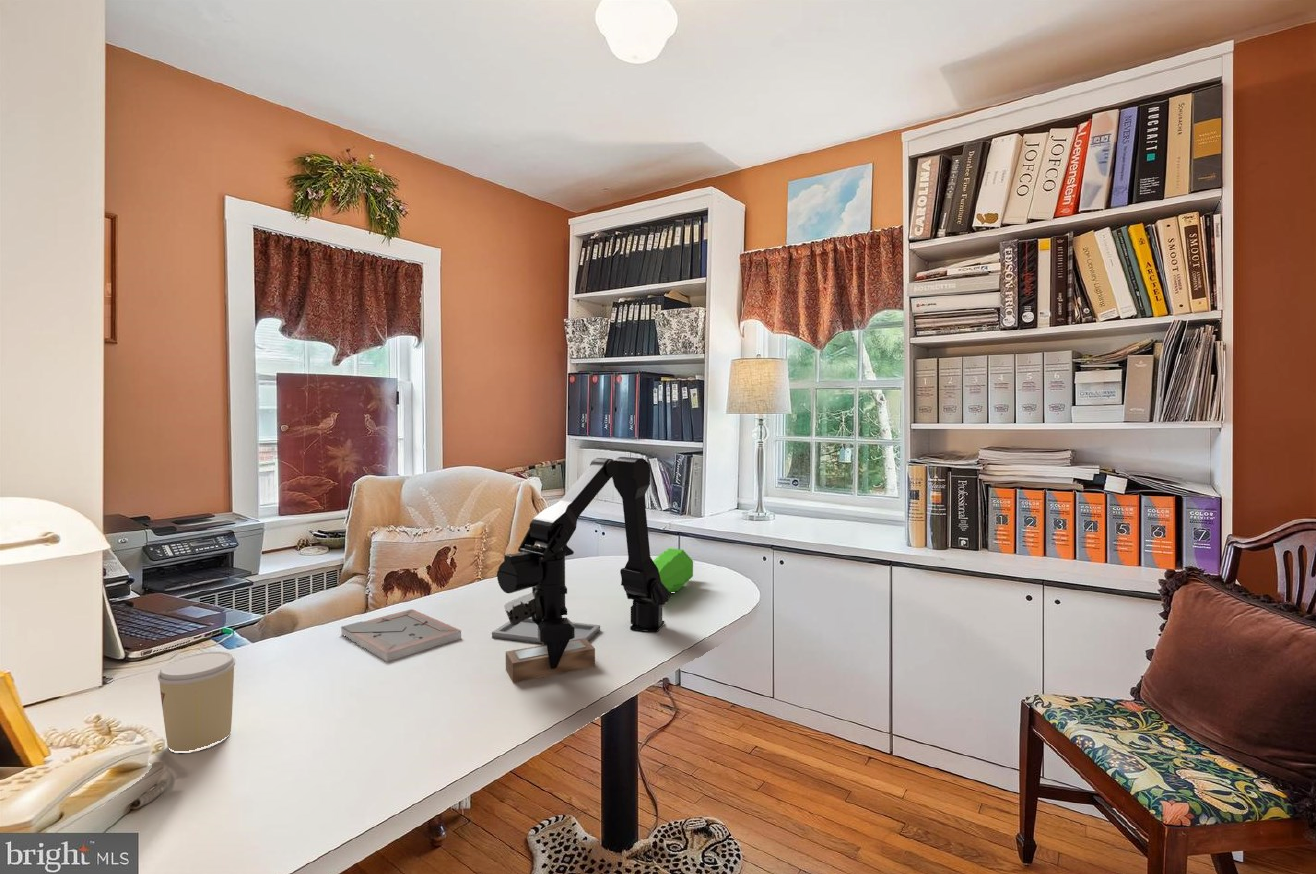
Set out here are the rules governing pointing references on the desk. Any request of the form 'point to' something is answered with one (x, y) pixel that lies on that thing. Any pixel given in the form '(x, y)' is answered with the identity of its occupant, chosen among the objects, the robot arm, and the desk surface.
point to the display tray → (529, 631)
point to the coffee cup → (197, 699)
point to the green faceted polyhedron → (674, 568)
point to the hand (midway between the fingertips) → (550, 660)
